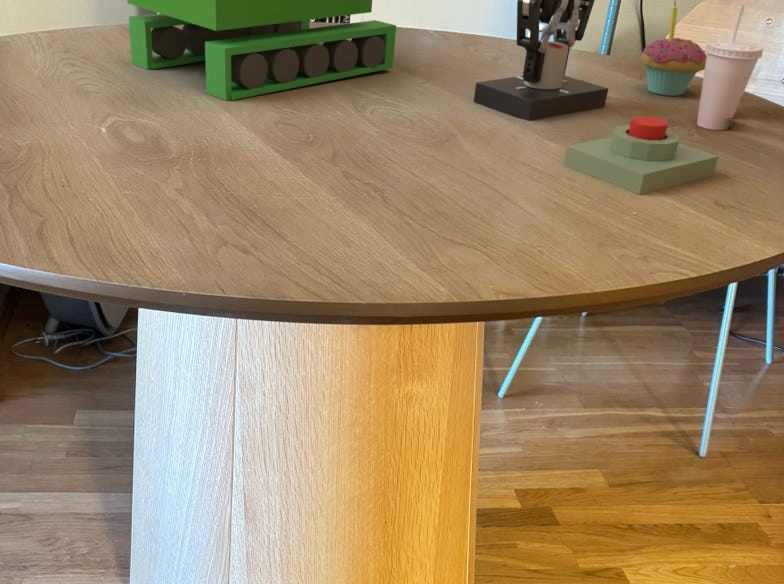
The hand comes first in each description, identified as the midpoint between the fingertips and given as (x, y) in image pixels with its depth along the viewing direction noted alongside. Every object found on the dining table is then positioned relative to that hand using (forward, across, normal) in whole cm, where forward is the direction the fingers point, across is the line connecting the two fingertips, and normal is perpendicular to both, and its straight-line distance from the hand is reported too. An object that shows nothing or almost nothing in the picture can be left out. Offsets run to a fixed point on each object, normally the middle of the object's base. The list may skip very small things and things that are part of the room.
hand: (543, 78), depth 113 cm
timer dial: (+1, 0, 0) cm, 1 cm away
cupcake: (+3, +21, -6) cm, 23 cm away
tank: (+4, -14, +36) cm, 39 cm away
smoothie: (+3, +10, -19) cm, 22 cm away
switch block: (+3, -14, -22) cm, 26 cm away
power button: (0, -14, -22) cm, 26 cm away
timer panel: (+3, 0, 0) cm, 3 cm away
